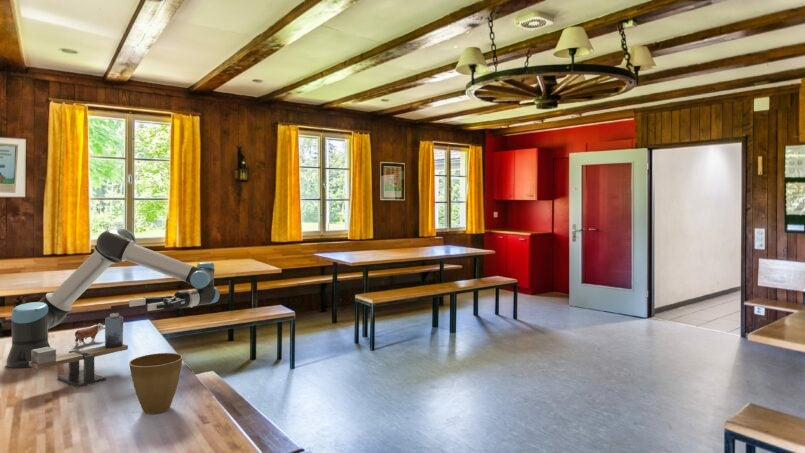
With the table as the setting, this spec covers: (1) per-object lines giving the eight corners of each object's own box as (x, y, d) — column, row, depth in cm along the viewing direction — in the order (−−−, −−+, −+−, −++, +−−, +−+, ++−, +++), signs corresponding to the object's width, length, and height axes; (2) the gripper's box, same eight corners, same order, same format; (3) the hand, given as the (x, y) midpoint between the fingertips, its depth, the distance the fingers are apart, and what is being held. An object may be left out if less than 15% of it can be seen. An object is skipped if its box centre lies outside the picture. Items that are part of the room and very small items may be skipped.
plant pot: (192, 402, 159) (192, 354, 158) (160, 421, 144) (160, 368, 144) (153, 398, 162) (153, 350, 162) (117, 416, 148) (117, 364, 147)
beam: (27, 366, 168) (27, 349, 168) (116, 347, 194) (116, 332, 194) (39, 371, 164) (39, 353, 163) (129, 350, 189) (129, 335, 189)
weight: (101, 346, 187) (102, 314, 187) (117, 343, 193) (117, 311, 192) (110, 349, 184) (110, 316, 184) (126, 345, 189) (126, 313, 189)
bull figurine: (106, 340, 233) (106, 323, 233) (77, 346, 221) (77, 329, 221) (100, 338, 235) (100, 322, 235) (71, 345, 223) (71, 327, 222)
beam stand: (57, 378, 179) (57, 352, 179) (83, 372, 187) (83, 346, 187) (79, 387, 171) (78, 359, 171) (105, 380, 179) (105, 353, 178)
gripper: (203, 311, 211) (155, 318, 193) (169, 303, 224) (122, 310, 207) (203, 293, 211) (156, 300, 193) (169, 287, 224) (122, 292, 206)
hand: (138, 305), depth 200 cm, fingers open, 13 cm apart
